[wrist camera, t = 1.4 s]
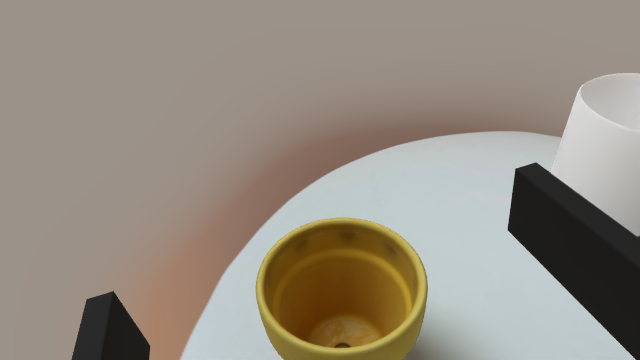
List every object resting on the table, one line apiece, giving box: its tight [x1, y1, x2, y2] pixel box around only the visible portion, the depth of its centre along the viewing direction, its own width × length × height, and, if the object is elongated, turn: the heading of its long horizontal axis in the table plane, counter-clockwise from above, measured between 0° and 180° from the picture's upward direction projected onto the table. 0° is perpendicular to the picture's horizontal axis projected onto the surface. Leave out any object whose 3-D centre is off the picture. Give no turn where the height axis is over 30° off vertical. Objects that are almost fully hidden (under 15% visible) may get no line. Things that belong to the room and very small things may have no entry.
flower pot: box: [256, 218, 428, 360], centre depth 29 cm, size 10×10×10 cm
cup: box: [550, 73, 640, 236], centre depth 38 cm, size 12×12×12 cm
